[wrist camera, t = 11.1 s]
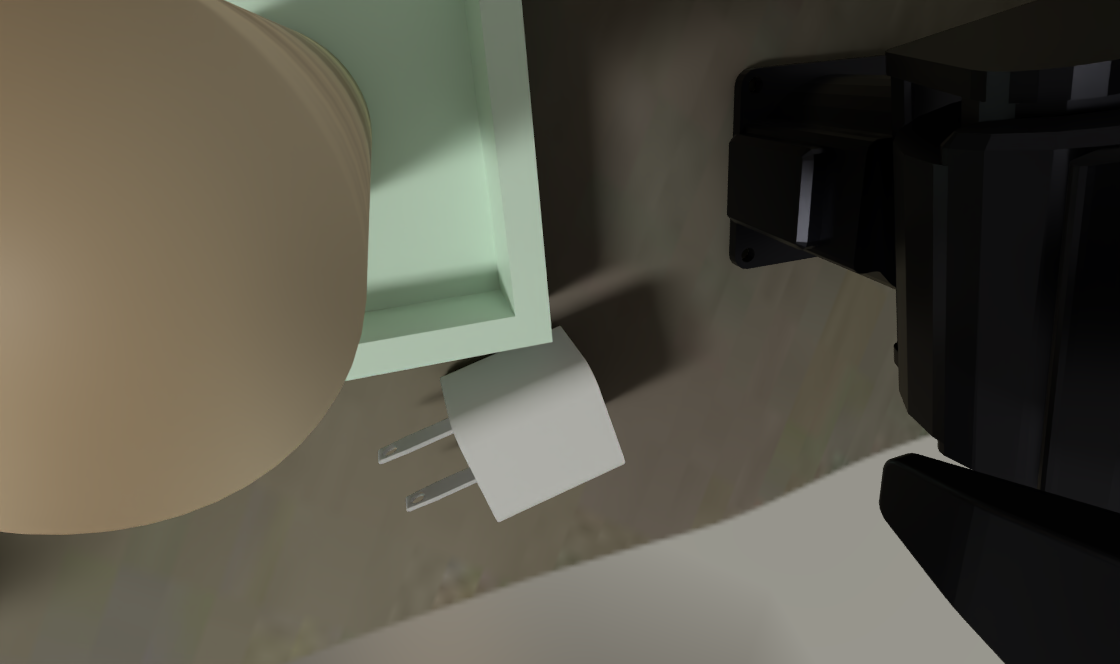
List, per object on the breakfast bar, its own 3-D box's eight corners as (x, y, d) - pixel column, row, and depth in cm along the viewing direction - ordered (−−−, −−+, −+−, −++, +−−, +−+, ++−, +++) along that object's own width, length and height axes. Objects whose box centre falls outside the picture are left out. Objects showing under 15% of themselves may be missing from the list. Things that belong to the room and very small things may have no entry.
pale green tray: (478, -175, 16) (500, -224, 13) (529, 307, 21) (552, 341, 18) (-146, -172, 13) (-277, -232, 10) (93, 383, 18) (46, 437, 16)
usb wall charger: (589, 410, 23) (629, 472, 20) (415, 490, 23) (423, 569, 19) (555, 319, 22) (592, 369, 18) (364, 401, 21) (363, 471, 17)
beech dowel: (350, 15, 16) (286, -114, 4) (388, 209, 18) (411, 466, 7) (133, 31, 15) (-678, -85, 3) (199, 235, 17) (-171, 594, 5)
